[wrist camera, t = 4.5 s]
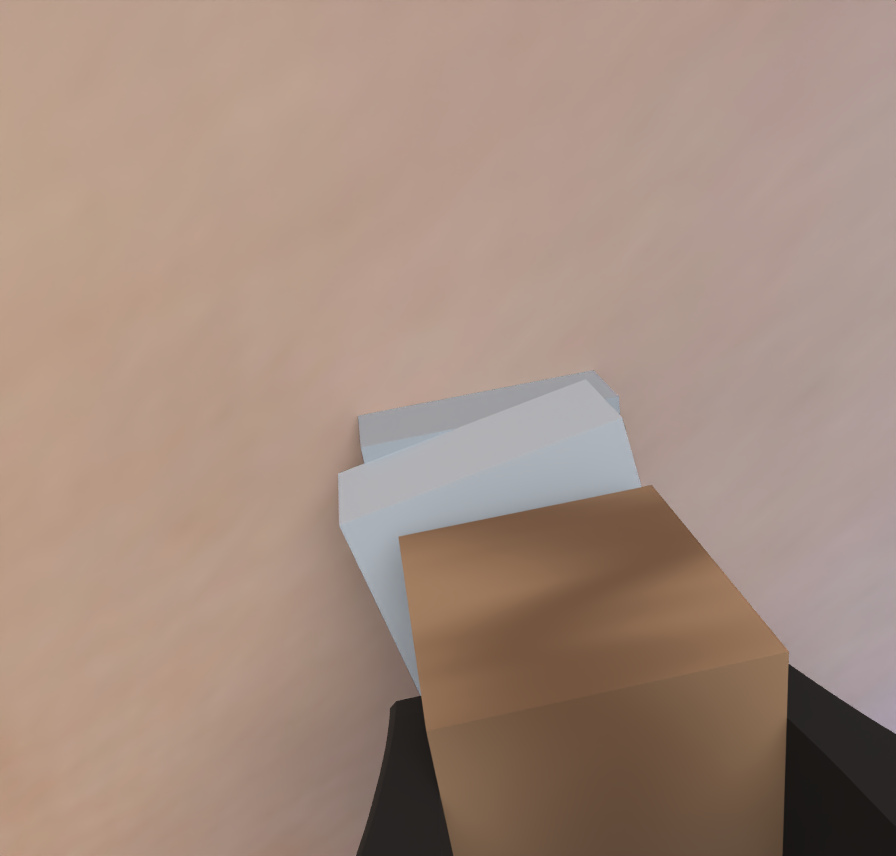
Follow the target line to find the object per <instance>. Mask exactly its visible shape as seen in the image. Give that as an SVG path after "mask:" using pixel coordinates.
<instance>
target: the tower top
mask: <svg viewBox="0 0 896 856" xmlns="http://www.w3.org/2000/svg"><path fill="white" fill-rule="evenodd" d="M640 487H641V484H640V480H639V477H638V473H637V469H636V466H635V462H634V459H633V455H632V451H631V448H630V444H629V441H628V437H627V433H626V430H625V426H624V423H623V419H622V417H621V416H620V415H619V414H618V413H617V412H616V411H615V409H614V408H613V407H612V406H611V405H610V404H609V403H608V402H607V401H606V400H605V399H604V398H603V397H602V396H601V395H600V394H599V393H598V391H597V390H596V389H595V388H594V387H593V386H592V385H591V384H590V383H589V382H588V381H587V380H586V379H585V380H582V381H579V382H577V383H574V384H572V385H569V386H566V387H564V388H561V389H558V390H556V391H553V392H551V393H548V394H545V395H543V396H540V397H537V398H535V399H532V400H530V401H527V402H524V403H522V404H519V405H516V406H514V407H511V408H509V409H506V410H503V411H501V412H498V413H495V414H493V415H490V416H488V417H485V418H482V419H480V420H477V421H475V422H472V423H469V424H467V425H464V426H461V427H459V428H457V429H454V430H452V431H449V432H447V433H444V434H441V435H439V436H436V437H433V438H431V439H428V440H425V441H423V442H420V443H418V444H415V445H412V446H410V447H407V448H404V449H402V450H399V451H397V452H394V453H391V454H389V455H386V456H383V457H381V458H378V459H376V460H373V461H370V462H368V463H365V464H362V465H359V466H357V467H354V468H351V469H349V470H346V471H343V472H341V473H338V488H339V526H340V528H341V530H342V532H343V534H344V536H345V539H346V541H347V543H348V545H349V547H350V549H351V551H352V553H353V555H354V557H355V559H356V562H357V564H358V566H359V568H360V570H361V572H362V574H363V576H364V578H365V580H366V583H367V585H368V587H369V589H370V591H371V593H372V595H373V597H374V599H375V601H376V603H377V606H378V608H379V610H380V612H381V614H382V616H383V618H384V620H385V622H386V624H387V627H388V629H389V631H390V633H391V635H392V637H393V639H394V641H395V643H396V645H397V647H398V650H399V652H400V654H401V656H402V658H403V660H404V662H405V664H406V666H407V668H408V670H409V673H410V675H411V677H412V679H413V681H414V683H415V685H416V687H417V689H418V691H419V694H420V696H421V691H420V684H419V677H418V670H417V663H416V656H415V649H414V642H413V635H412V628H411V621H410V614H409V607H408V600H407V593H406V587H405V580H404V573H403V566H402V559H401V552H400V545H399V538H398V537H399V536H404V535H408V534H413V533H418V532H423V531H428V530H433V529H438V528H443V527H448V526H453V525H458V524H463V523H468V522H473V521H477V520H482V519H487V518H492V517H497V516H502V515H507V514H512V513H517V512H522V511H527V510H532V509H537V508H542V507H546V506H551V505H556V504H561V503H566V502H571V501H576V500H581V499H586V498H591V497H596V496H601V495H606V494H610V493H615V492H620V491H625V490H630V489H635V488H640Z"/></svg>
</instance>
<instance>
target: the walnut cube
mask: <svg viewBox="0 0 896 856" xmlns="http://www.w3.org/2000/svg"><path fill="white" fill-rule="evenodd" d="M398 538H399V545H400V552H401V559H402V566H403V573H404V580H405V587H406V593H407V600H408V607H409V614H410V621H411V628H412V635H413V642H414V649H415V656H416V663H417V670H418V677H419V684H420V691H421V698H422V705H423V712H424V719H425V726H426V732H427V737H428V741H429V746H430V751H431V755H432V760H433V764H434V769H435V774H436V778H437V783H438V787H439V792H440V797H441V801H442V806H443V810H444V815H445V820H446V824H447V829H448V833H449V838H450V843H451V847H452V852H453V856H782V855H783V823H784V791H785V759H786V726H787V694H788V662H789V651H788V650H787V649H786V648H785V646H784V645H783V644H782V643H781V642H780V640H779V639H778V638H777V637H776V636H775V634H774V633H773V632H772V631H771V629H770V628H769V627H768V626H767V625H766V623H765V622H764V621H763V620H762V619H761V617H760V616H759V615H758V614H757V612H756V611H755V610H754V609H753V608H752V606H751V605H750V604H749V603H748V602H747V600H746V599H745V598H744V597H743V595H742V594H741V593H740V592H739V591H738V589H737V588H736V587H735V586H734V585H733V583H732V582H731V581H730V580H729V578H728V577H727V576H726V575H725V574H724V572H723V571H722V570H721V569H720V568H719V566H718V565H717V564H716V563H715V561H714V560H713V559H712V558H711V557H710V555H709V554H708V553H707V552H706V550H705V549H704V548H703V547H702V546H701V544H700V543H699V542H698V541H697V540H696V538H695V537H694V536H693V535H692V533H691V532H690V531H689V530H688V529H687V527H686V526H685V525H684V524H683V523H682V521H681V520H680V519H679V518H678V516H677V515H676V514H675V513H674V512H673V510H672V509H671V508H670V507H669V506H668V504H667V503H666V502H665V501H664V499H663V498H662V497H661V496H660V495H659V493H658V492H657V491H656V490H655V489H654V487H653V486H652V485H650V486H645V487H640V488H635V489H630V490H625V491H620V492H615V493H610V494H606V495H601V496H596V497H591V498H586V499H581V500H576V501H571V502H566V503H561V504H556V505H551V506H546V507H542V508H537V509H532V510H527V511H522V512H517V513H512V514H507V515H502V516H497V517H492V518H487V519H482V520H477V521H473V522H468V523H463V524H458V525H453V526H448V527H443V528H438V529H433V530H428V531H423V532H418V533H413V534H408V535H404V536H399V537H398Z"/></svg>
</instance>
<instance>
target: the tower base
mask: <svg viewBox="0 0 896 856" xmlns="http://www.w3.org/2000/svg"><path fill="white" fill-rule="evenodd" d="M585 379H586V380H587V381H588V382H589V383H590V384H591V385H592V386H593V387H594V388H595V389H596V390H597V391H598V393H599V394H600V395H601V396H602V397H603V398H604V399H605V400H606V401H607V402H608V403H609V404H610V405H611V406H612V407H613V408H614V409H615V411H616V412H617V413H618V414H619V415H620V408H619V396H618V395H617V394H616V393H615V392H614V391H613V390H612V389H611V388H610V387H609V386H608V385H607V384H606V383H605V382H604V381H603V380H602V379H601V378H600V377H599V376H598V374H597V373H596V372H595V371H594V370H593V371H587V372H582V373H577V374H572V375H567V376H561V377H556V378H551V379H546V380H541V381H535V382H530V383H525V384H520V385H515V386H510V387H504V388H499V389H494V390H489V391H484V392H478V393H473V394H468V395H463V396H458V397H453V398H447V399H442V400H437V401H432V402H427V403H421V404H416V405H411V406H406V407H401V408H396V409H390V410H385V411H380V412H375V413H370V414H364V415H359V416H358V420H359V432H360V444H361V450H362V455H363V459H364V464H365V463H368V462H370V461H373V460H376V459H378V458H381V457H383V456H386V455H389V454H391V453H394V452H397V451H399V450H402V449H404V448H407V447H410V446H412V445H415V444H418V443H420V442H423V441H425V440H428V439H431V438H433V437H436V436H439V435H441V434H444V433H447V432H449V431H452V430H454V429H457V428H459V427H461V426H464V425H467V424H469V423H472V422H475V421H477V420H480V419H482V418H485V417H488V416H490V415H493V414H495V413H498V412H501V411H503V410H506V409H509V408H511V407H514V406H516V405H519V404H522V403H524V402H527V401H530V400H532V399H535V398H537V397H540V396H543V395H545V394H548V393H551V392H553V391H556V390H558V389H561V388H564V387H566V386H569V385H572V384H574V383H577V382H579V381H582V380H585Z"/></svg>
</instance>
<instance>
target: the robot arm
mask: <svg viewBox="0 0 896 856" xmlns="http://www.w3.org/2000/svg"><path fill="white" fill-rule="evenodd" d="M356 856H453V852H452V847H451V843H450V838H449V833H448V829H447V824H446V820H445V815H444V810H443V806H442V801H441V797H440V792H439V787H438V783H437V778H436V774H435V769H434V764H433V760H432V755H431V751H430V746H429V741H428V737H427V732H426V726H425V719H424V712H423V705H422V698H421V696H418V697H414V698H409V699H405V700H400V701H396V702H395V703H394V704H393V706H392V707H391V708H390V720H389V728H388V736H387V742H386V748H385V753H384V758H383V762H382V767H381V771H380V776H379V780H378V784H377V787H376V791H375V795H374V799H373V802H372V806H371V810H370V814H369V817H368V821H367V824H366V827H365V830H364V833H363V836H362V839H361V842H360V845H359V848H358V851H357V854H356ZM782 856H896V734H895V733H893V732H892V731H890V730H888V729H887V728H885V727H883V726H881V725H880V724H878V723H877V722H875V721H873V720H872V719H870V718H869V717H867V716H865V715H864V714H862V713H861V712H859V711H858V710H856V709H855V708H853V707H852V706H850V705H849V704H847V703H845V702H844V701H842V700H841V699H839V698H838V697H836V696H835V695H833V694H832V693H830V692H829V691H827V690H826V689H824V688H823V687H821V686H820V685H818V684H817V683H815V682H814V681H813V680H811V679H810V678H808V677H807V676H805V675H804V674H802V673H801V672H800V671H798V670H797V669H795V668H794V667H792V666H791V665H790V664H788V694H787V726H786V759H785V791H784V823H783V855H782Z"/></svg>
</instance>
